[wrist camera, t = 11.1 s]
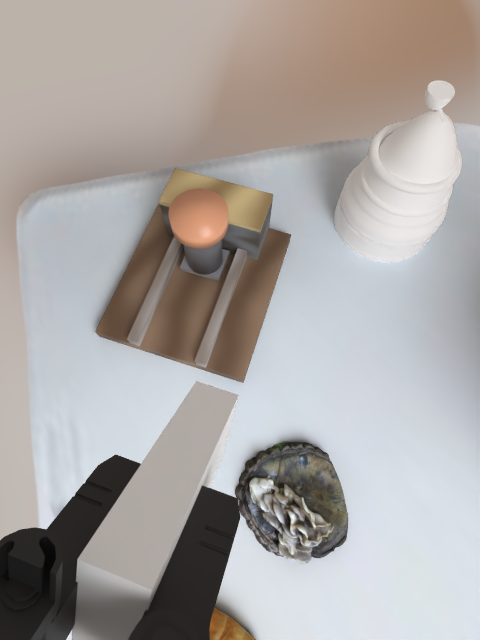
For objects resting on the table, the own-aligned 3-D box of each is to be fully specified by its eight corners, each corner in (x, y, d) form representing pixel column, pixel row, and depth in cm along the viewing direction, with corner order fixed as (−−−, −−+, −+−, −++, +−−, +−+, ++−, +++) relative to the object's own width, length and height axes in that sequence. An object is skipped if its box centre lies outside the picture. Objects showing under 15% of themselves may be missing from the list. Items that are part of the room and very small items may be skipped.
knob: (236, 248, 49) (236, 196, 40) (220, 289, 47) (216, 244, 38) (191, 236, 50) (181, 182, 41) (173, 275, 48) (159, 227, 39)
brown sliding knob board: (289, 241, 52) (298, 201, 45) (243, 382, 45) (244, 363, 37) (163, 206, 54) (151, 161, 47) (99, 336, 47) (73, 308, 39)
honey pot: (326, 186, 56) (365, 61, 39) (415, 181, 56) (491, 55, 39) (343, 266, 51) (395, 161, 34) (440, 259, 51) (538, 153, 35)
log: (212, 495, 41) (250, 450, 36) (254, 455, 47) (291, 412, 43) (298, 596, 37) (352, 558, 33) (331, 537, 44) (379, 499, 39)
